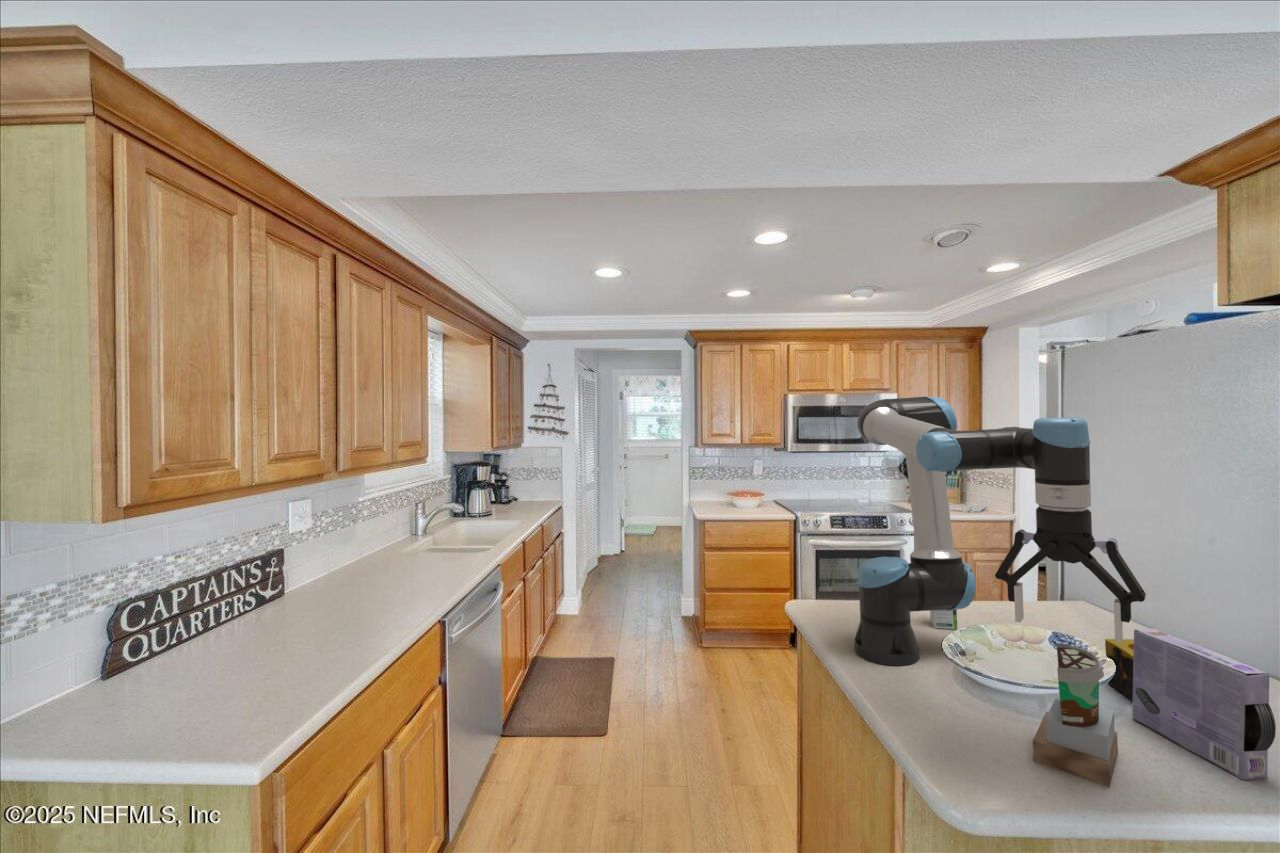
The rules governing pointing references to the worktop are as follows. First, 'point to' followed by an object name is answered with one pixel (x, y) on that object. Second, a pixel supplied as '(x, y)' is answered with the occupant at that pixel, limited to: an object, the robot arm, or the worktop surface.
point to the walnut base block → (1074, 758)
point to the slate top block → (1082, 732)
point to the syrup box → (944, 619)
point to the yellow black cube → (1122, 665)
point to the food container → (1078, 685)
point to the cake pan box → (1203, 702)
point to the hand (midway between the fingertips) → (1066, 629)
